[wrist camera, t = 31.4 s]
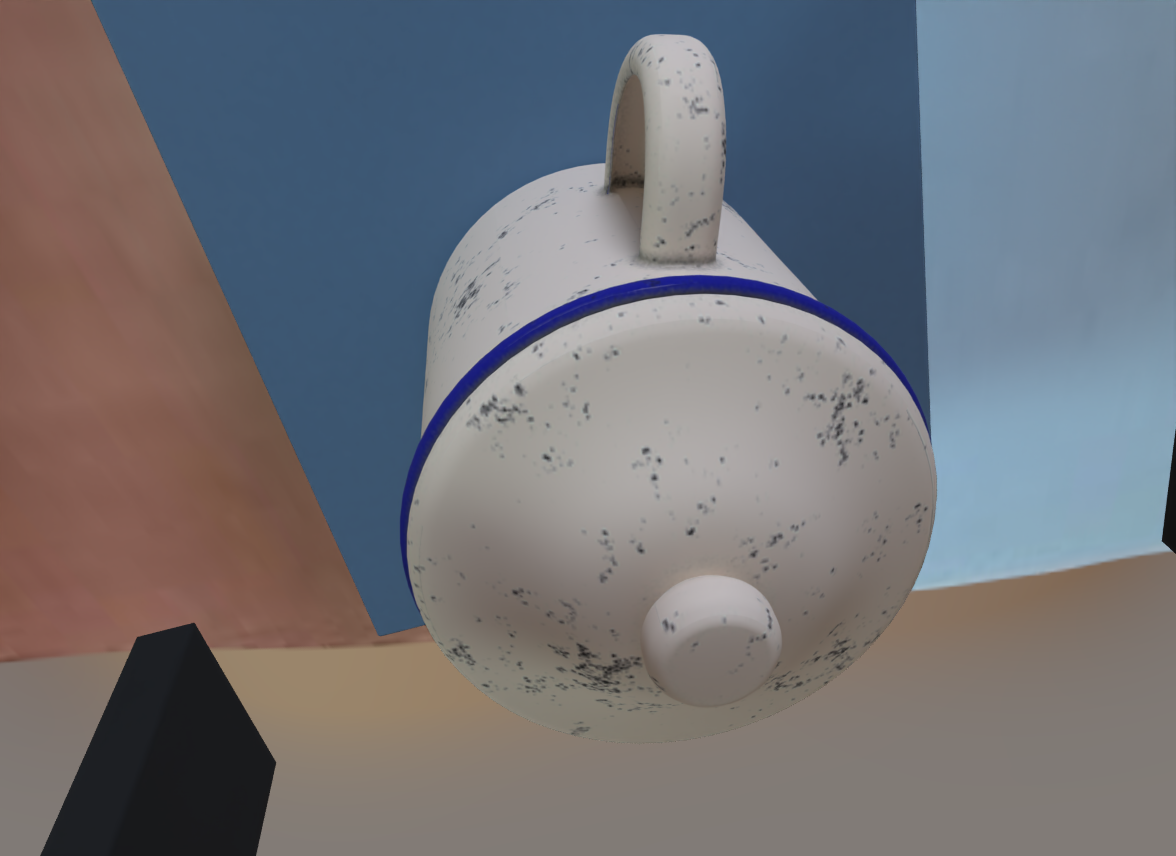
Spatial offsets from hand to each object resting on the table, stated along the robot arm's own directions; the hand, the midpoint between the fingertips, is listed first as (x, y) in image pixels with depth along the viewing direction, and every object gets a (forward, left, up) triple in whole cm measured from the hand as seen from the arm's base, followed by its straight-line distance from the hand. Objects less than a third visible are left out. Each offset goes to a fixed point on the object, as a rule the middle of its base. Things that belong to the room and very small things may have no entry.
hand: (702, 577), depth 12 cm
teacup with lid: (0, 0, -12) cm, 12 cm away
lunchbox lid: (0, 0, -12) cm, 12 cm away
